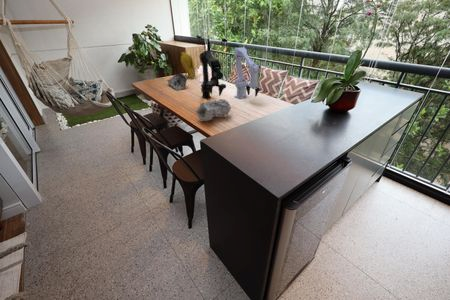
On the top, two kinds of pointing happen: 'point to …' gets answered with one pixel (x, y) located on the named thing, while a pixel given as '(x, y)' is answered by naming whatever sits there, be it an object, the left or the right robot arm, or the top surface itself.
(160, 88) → the top surface
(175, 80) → the gray rock
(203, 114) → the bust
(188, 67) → the sculpture
